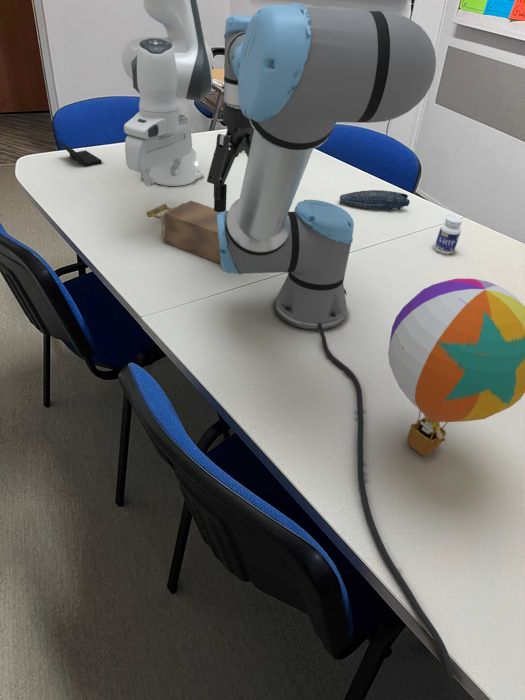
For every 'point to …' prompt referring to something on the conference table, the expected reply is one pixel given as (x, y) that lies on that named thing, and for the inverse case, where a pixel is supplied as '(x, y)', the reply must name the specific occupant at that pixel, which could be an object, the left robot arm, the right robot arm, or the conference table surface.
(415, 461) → the conference table surface
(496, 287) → the toy
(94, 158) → the black handled piece
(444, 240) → the pill bottle
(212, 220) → the cabinet
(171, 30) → the left robot arm
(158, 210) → the drawer
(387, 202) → the fish model
